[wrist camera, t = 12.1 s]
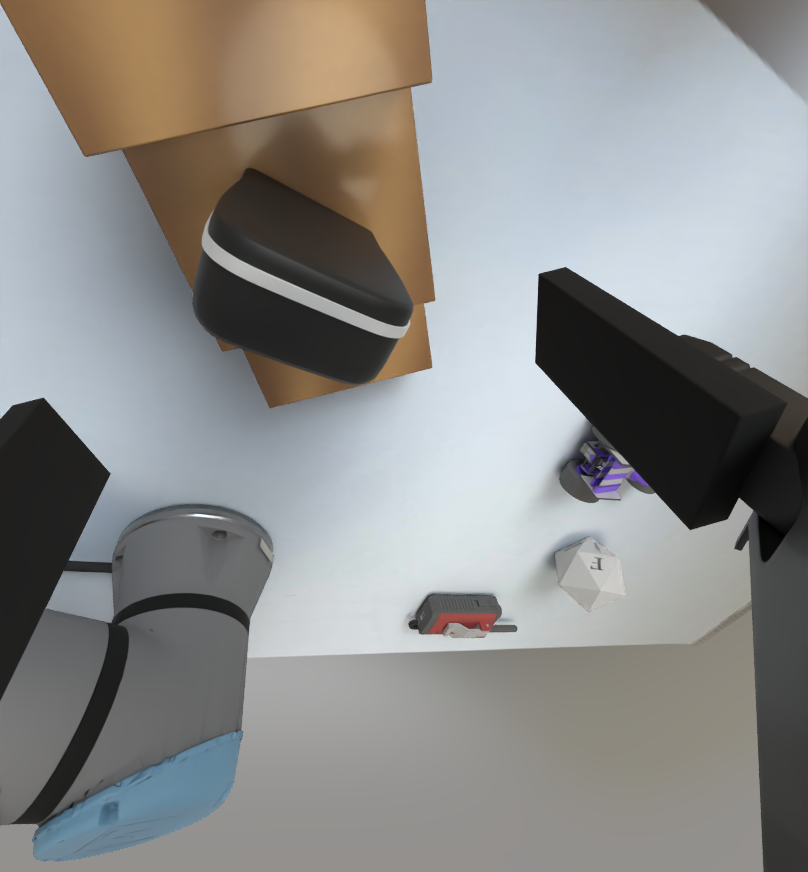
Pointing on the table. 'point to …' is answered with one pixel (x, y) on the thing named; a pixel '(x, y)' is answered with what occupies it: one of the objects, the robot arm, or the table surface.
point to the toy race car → (600, 473)
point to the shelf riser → (253, 121)
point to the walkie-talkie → (460, 616)
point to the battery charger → (298, 283)
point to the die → (590, 573)
